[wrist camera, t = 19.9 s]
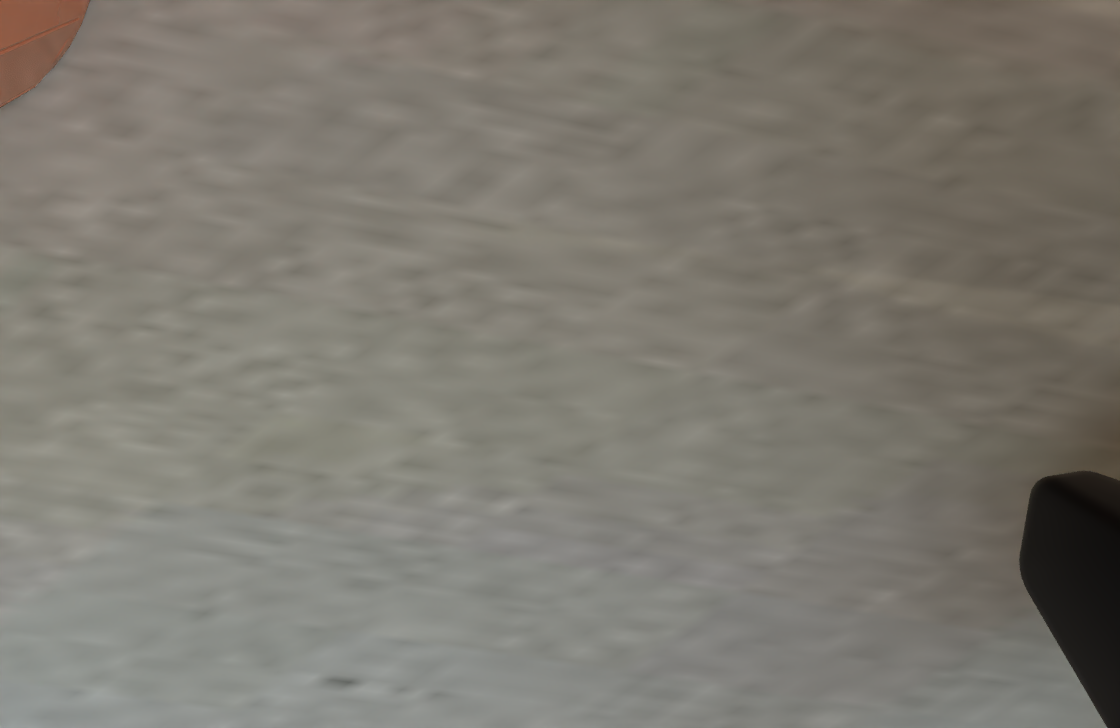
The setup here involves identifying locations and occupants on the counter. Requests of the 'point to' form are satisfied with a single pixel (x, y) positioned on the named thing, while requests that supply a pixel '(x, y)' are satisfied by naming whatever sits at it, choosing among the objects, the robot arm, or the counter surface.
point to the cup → (34, 40)
